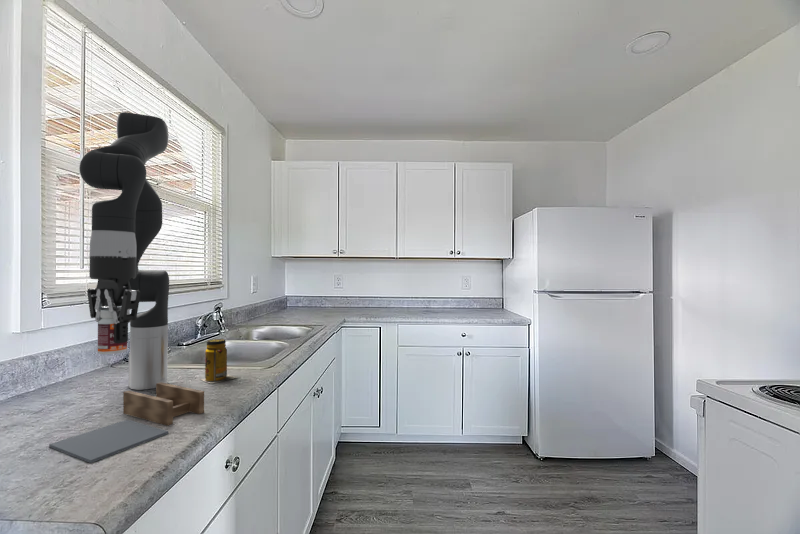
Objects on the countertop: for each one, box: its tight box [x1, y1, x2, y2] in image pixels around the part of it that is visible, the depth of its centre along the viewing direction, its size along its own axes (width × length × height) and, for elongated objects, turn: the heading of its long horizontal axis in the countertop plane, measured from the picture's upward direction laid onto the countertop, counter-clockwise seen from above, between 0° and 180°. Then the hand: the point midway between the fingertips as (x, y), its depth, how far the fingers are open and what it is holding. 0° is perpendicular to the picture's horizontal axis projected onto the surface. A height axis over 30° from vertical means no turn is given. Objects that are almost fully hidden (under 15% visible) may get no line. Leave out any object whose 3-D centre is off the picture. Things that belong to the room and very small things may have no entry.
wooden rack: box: [122, 382, 205, 427], centre depth 94 cm, size 16×9×5 cm, turn 64°
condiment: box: [199, 338, 238, 385], centre depth 123 cm, size 7×8×12 cm
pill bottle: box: [97, 309, 128, 355], centre depth 79 cm, size 5×5×8 cm
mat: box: [48, 419, 169, 464], centre depth 79 cm, size 14×14×1 cm
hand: (112, 341), depth 79 cm, fingers closed on pill bottle, 4 cm apart
